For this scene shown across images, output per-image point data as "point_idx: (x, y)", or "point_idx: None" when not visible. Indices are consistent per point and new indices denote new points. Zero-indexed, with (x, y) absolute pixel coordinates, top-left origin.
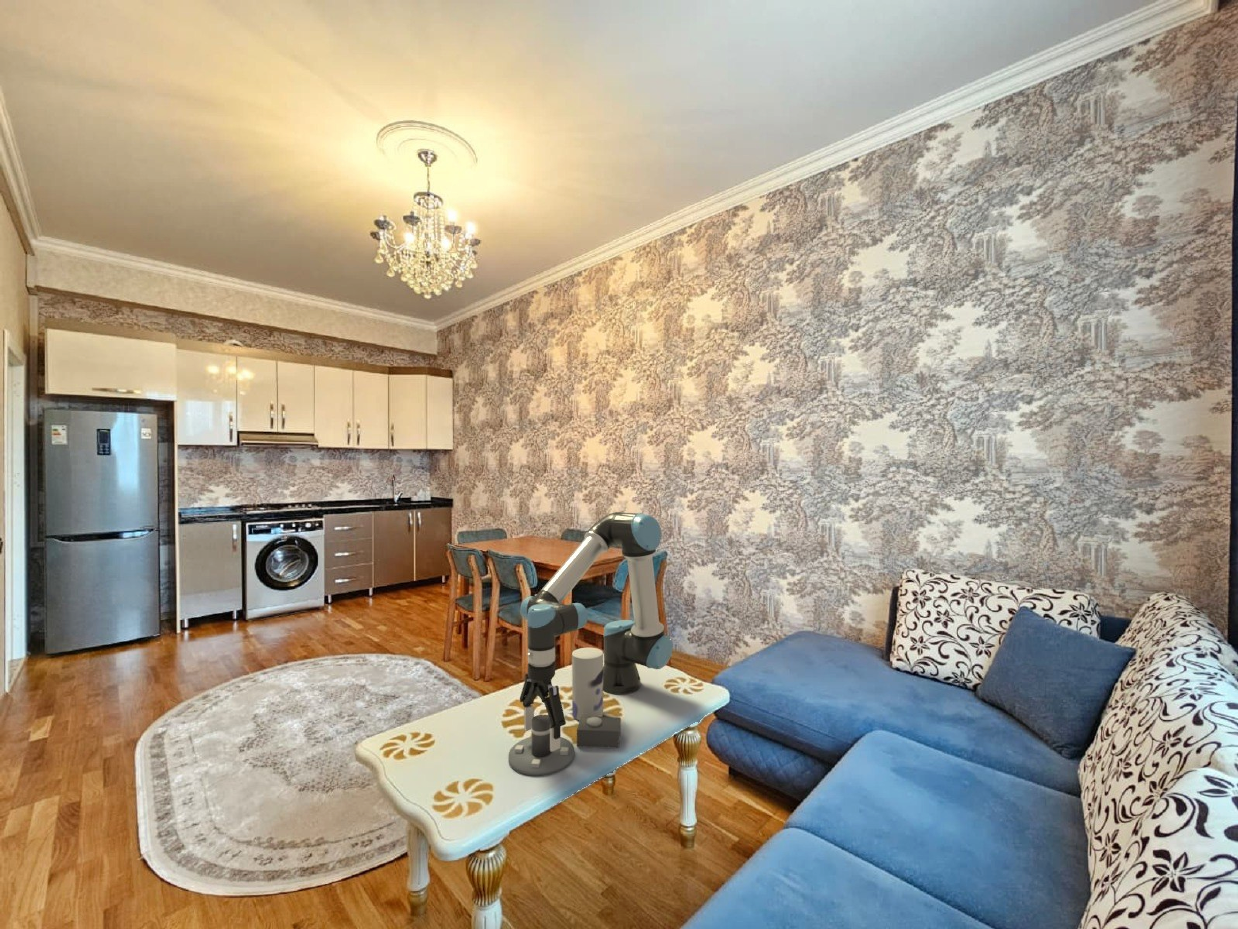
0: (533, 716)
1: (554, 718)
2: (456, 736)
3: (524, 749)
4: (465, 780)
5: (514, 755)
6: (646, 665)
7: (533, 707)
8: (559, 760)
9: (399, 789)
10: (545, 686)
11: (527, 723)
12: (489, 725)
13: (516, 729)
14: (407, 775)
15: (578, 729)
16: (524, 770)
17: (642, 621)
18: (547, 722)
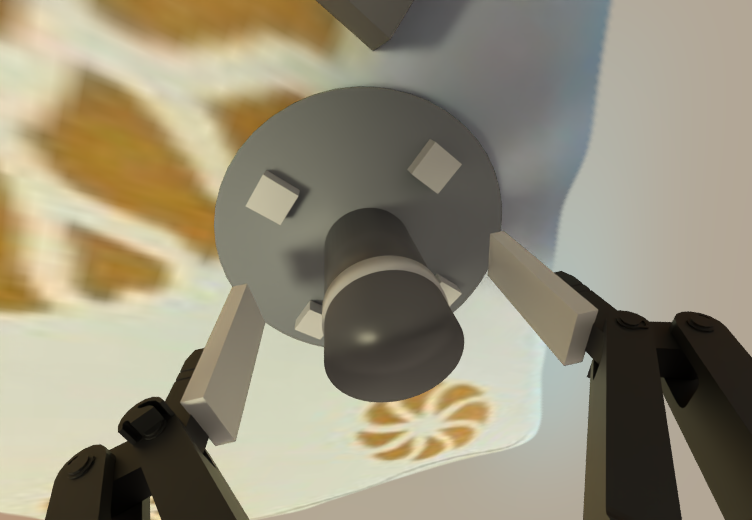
0: (230, 334)
1: (681, 416)
2: (104, 436)
3: (314, 299)
4: (366, 421)
5: None
6: None
7: (210, 389)
8: (467, 207)
9: (328, 497)
10: None
11: (254, 343)
12: (17, 354)
13: (80, 270)
14: (283, 494)
15: (394, 23)
16: None
17: None
18: (460, 339)
